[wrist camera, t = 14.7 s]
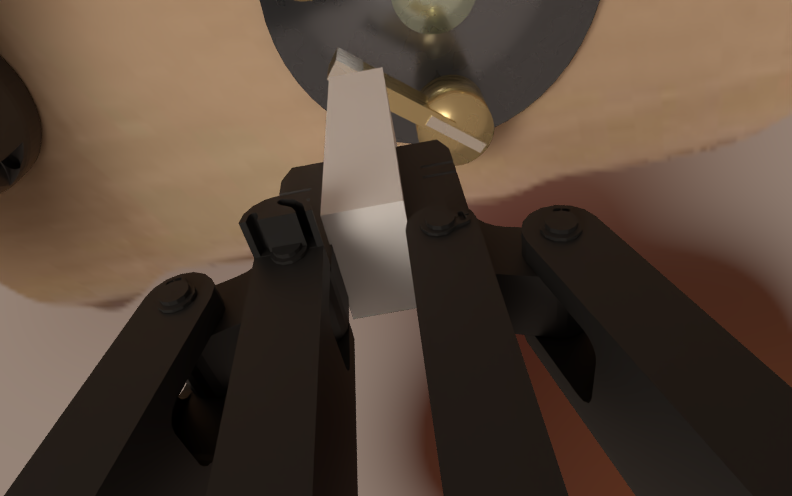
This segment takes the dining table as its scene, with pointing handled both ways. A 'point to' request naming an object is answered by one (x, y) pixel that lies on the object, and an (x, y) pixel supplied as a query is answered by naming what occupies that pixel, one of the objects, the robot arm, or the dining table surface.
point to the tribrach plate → (434, 44)
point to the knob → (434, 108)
